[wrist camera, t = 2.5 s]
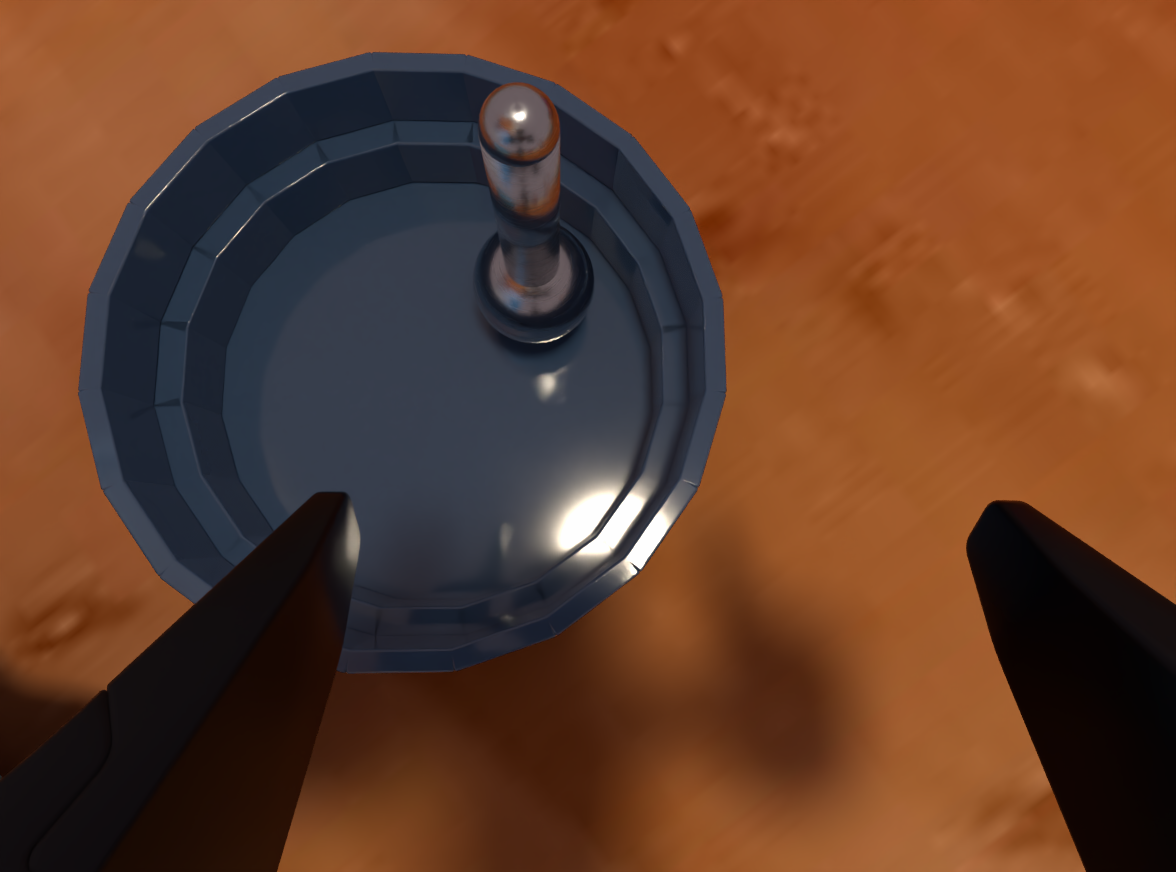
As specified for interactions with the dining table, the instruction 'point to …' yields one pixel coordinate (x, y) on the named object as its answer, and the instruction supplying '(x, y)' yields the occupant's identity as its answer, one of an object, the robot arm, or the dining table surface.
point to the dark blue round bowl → (400, 360)
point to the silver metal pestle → (528, 223)
